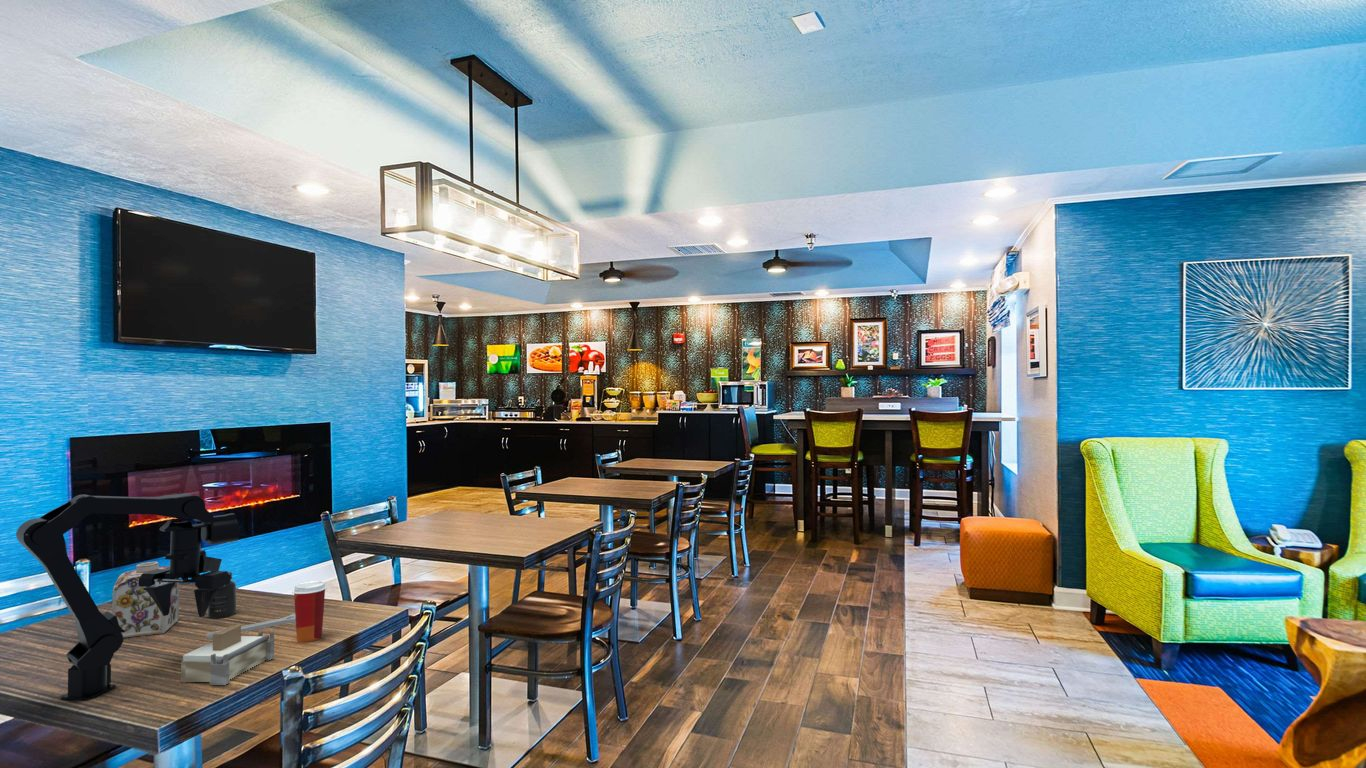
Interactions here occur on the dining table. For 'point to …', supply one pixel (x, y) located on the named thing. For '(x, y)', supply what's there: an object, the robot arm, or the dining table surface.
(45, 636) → the dining table surface
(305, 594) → the paper cup
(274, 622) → the adjustable wrench
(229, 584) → the supplement bottle
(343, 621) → the dining table surface
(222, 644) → the cabinet door
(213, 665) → the cabinet
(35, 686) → the dining table surface
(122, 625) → the decorative jar
